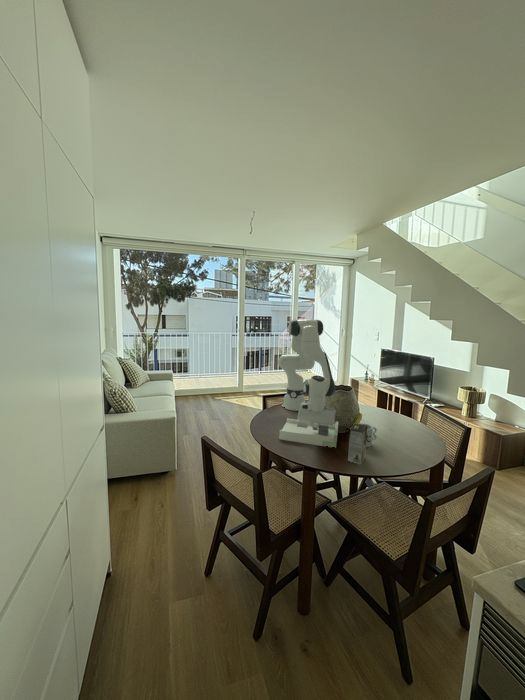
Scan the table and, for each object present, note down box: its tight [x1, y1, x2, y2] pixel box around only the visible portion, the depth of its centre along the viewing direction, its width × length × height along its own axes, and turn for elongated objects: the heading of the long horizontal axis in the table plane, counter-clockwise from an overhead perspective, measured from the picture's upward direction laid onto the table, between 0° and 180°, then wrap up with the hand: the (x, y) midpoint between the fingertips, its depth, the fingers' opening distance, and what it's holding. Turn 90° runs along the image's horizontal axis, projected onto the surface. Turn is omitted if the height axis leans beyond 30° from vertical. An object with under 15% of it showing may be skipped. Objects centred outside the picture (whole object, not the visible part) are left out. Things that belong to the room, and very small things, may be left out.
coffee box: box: [347, 424, 367, 465], centre depth 144 cm, size 9×6×16 cm
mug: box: [359, 422, 378, 448], centre depth 162 cm, size 12×9×10 cm
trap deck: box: [278, 417, 339, 449], centre depth 170 cm, size 20×30×7 cm, turn 74°
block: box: [318, 424, 329, 436], centre depth 167 cm, size 5×5×4 cm
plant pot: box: [354, 411, 363, 424], centre depth 183 cm, size 10×10×10 cm
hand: (315, 429), depth 168 cm, fingers closed
